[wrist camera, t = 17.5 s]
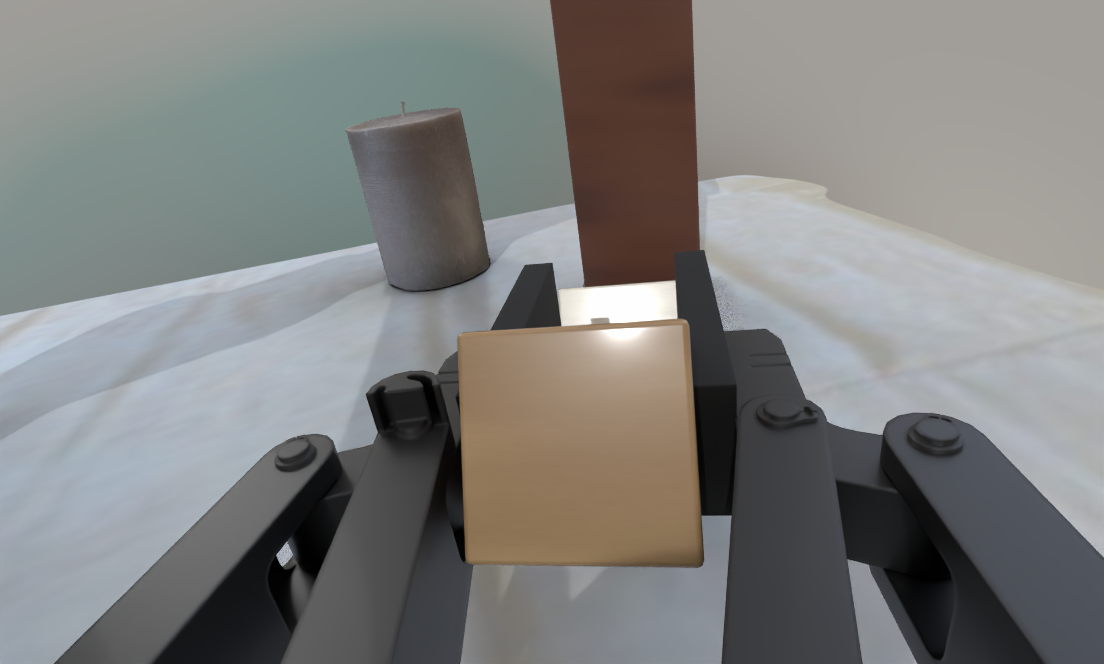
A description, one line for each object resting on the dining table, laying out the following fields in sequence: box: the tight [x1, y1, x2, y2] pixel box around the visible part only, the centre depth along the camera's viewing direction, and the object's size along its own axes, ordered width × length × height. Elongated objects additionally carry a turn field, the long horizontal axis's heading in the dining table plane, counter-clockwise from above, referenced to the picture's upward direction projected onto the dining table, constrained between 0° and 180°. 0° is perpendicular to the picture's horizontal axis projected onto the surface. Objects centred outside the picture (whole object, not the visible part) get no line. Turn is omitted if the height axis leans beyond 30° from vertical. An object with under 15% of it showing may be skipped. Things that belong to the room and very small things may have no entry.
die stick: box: [457, 280, 704, 568], centre depth 19 cm, size 22×6×6 cm
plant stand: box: [550, 0, 700, 287], centre depth 35 cm, size 14×9×28 cm, turn 172°
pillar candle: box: [345, 101, 491, 291], centre depth 53 cm, size 10×10×15 cm
